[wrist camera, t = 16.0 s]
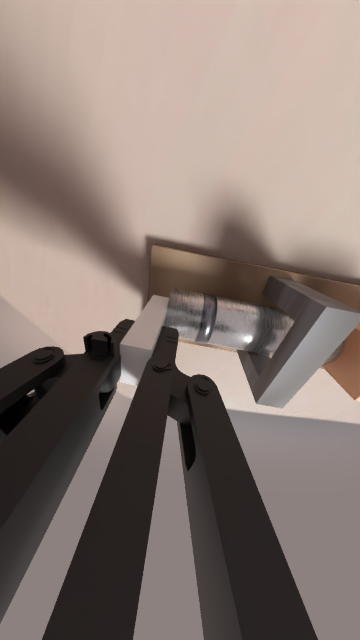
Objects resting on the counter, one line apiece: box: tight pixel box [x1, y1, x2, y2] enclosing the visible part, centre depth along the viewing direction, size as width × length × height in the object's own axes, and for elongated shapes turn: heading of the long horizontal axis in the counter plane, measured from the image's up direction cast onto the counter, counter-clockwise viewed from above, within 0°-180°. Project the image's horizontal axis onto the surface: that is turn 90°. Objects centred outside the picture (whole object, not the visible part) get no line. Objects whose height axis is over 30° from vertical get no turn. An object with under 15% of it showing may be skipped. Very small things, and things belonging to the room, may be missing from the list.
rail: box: [148, 245, 360, 408], centre depth 12 cm, size 26×9×7 cm, turn 80°
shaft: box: [164, 288, 346, 365], centre depth 13 cm, size 13×4×4 cm, turn 80°
